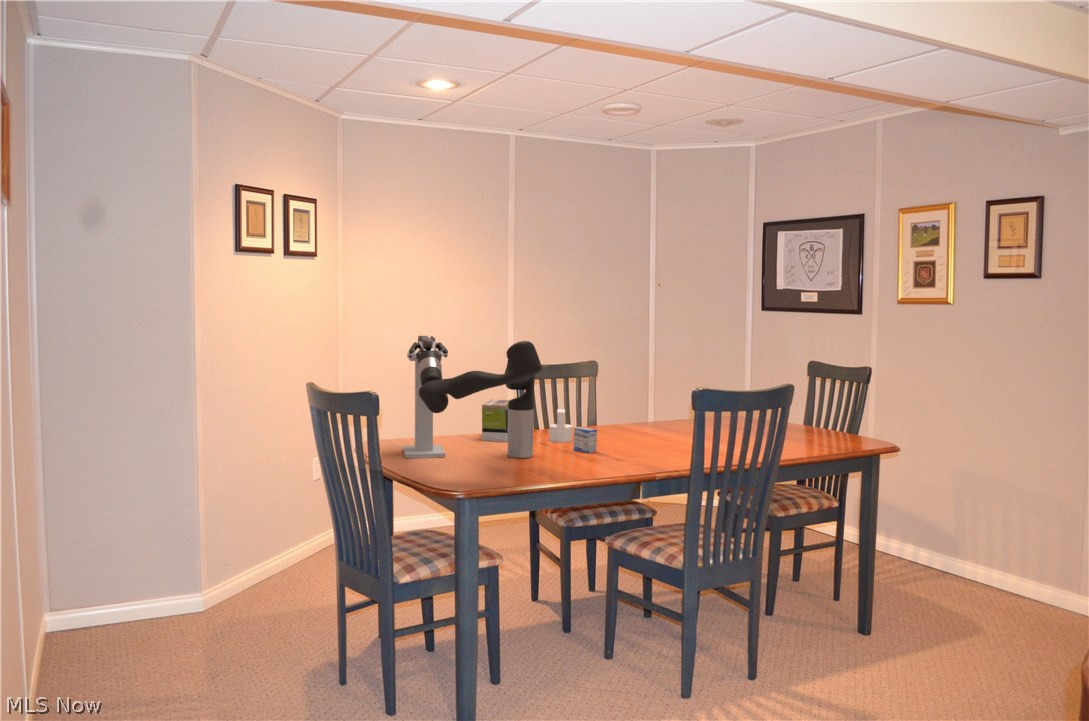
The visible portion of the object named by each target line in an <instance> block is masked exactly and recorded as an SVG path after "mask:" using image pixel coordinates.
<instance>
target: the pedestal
mask: <svg viewBox="0 0 1089 721" xmlns="http://www.w3.org/2000/svg"><path fill="white" fill-rule="evenodd" d="M406 356H407V358H408V360H409V361H410V362H414V445H403V446H402V451H404V452H403V455H404V458H409V459H436V458H437V459H439V458H438V457H445V458H446V451H445V450H444V449H443V447H442V444H434V413H433V412H431V411H430V410H429V409H428V408H427V406H426V405H425V403H424V402H423V401H422V399H421V398H420V396H419V389H420V388H421V386H422V385H421V378H420V374H419V367H418V359H417V358H416V357H415V356H412V357H409V352H407V355H406ZM442 357H443V356H442ZM442 357H441V358H440V360H441V362H442V361H443V359H442Z"/></svg>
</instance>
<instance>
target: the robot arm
mask: <svg viewBox="0 0 1089 721" xmlns="http://www.w3.org/2000/svg"><path fill="white" fill-rule="evenodd" d="M419 336H420V337H417V342H413V343H412V345H411V346H410V348H409V349H408V353H409V357H412V356H415V357H416V358H417V359H418V367H419V374H420V378H421V385H422V386H421V388H420V389H419V396H420V398H421V399H422V401H423V402H424V403H425V405H426V406H427V408H428V409H429V410H430V411H431V412H433V414H441V413H443V412H444V411H445V410H446V409H447V408H448V405H449V396H451V397H452V398H453V399H455V400H460V399H463V398H466V397H469V396H471V395H473V394H476V393H479V392H481V391H485V390H488V389H492V388H495V387H500V386H504V385H505V387H506V388H507V389H508V390H511V391H514V390H515V391H524V393H523V394H521V395H519V396H518V397H514V398H511V399H509V400H510V401H509V402H508V440H507V457H510V458H512V459H513V458H515V459H526V458H532V457H533V456H534V418H535V417H534V415H535V414H534V411H535V410H534V408H535V407H534V406H535V405H534V404H535V402H534V395H535V381H536V380H535V379H536V375H537V374H539V373H540V372H541V371H542V369H543V366H542V363H541V360H540V357H539V354H538V352H537V349H536V347H535V345H534V344H533V343H532V342H531V341H529V340H522V341H517V342H515V343H513V344H512V345H511V346H510V347H508V349H507V350H506V352H505V353H506V358H507V364H506V367H505V370H504V373H494V372H493V373H491V372H487V371H482V370H471V371H467V372H464V373H461V374H459V375H457V376H454V377H450V378H449V377H448V378H443V368H442V367H443V366H442V361H441V360H440V358H441V357H444V358H447V357H448V355H449V353H448V352H449V350H448V349H447V348H446V346H445V345H444V344H443V343H442V342H439V341H438V342H437V341H436V338H435V337H434V336H433V335H430V338H431V339H432V340H433V348H423V343H422V336H423V335H419ZM417 349H418V351H417ZM416 351H417V352H416ZM448 395H449V396H448Z"/></svg>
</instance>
